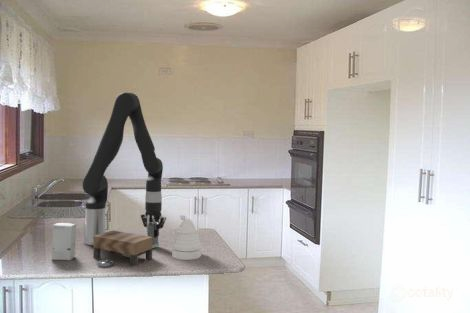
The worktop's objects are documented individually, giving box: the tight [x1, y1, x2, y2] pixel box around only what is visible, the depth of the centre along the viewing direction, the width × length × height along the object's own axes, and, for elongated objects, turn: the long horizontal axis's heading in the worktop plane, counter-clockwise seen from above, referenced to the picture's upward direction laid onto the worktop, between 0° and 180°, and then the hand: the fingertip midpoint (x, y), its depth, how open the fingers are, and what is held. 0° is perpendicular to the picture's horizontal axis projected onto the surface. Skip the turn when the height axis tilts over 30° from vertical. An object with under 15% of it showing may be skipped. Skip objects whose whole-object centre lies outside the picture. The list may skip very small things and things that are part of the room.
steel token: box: [97, 259, 114, 268], centre depth 191 cm, size 6×6×2 cm
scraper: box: [122, 224, 160, 258], centre depth 211 cm, size 20×4×10 cm, turn 152°
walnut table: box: [93, 230, 153, 267], centre depth 200 cm, size 22×12×10 cm, turn 63°
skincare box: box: [51, 222, 77, 261], centre depth 198 cm, size 8×6×15 cm
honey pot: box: [171, 214, 202, 261], centre depth 207 cm, size 13×13×18 cm
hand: (153, 236), depth 219 cm, fingers closed on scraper, 3 cm apart
